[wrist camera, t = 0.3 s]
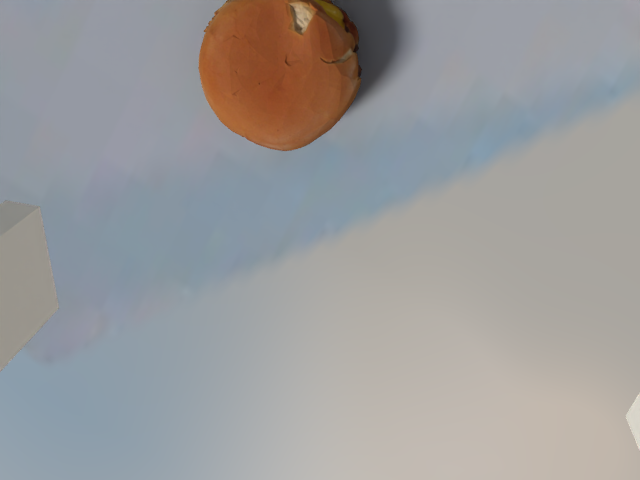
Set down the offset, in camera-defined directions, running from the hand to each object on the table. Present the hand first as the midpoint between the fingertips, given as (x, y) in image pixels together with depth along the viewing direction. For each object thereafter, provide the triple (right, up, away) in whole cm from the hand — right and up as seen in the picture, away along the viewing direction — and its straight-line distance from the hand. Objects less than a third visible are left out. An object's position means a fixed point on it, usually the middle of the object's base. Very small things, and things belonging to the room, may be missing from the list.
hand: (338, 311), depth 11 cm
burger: (-3, +13, +23) cm, 27 cm away
